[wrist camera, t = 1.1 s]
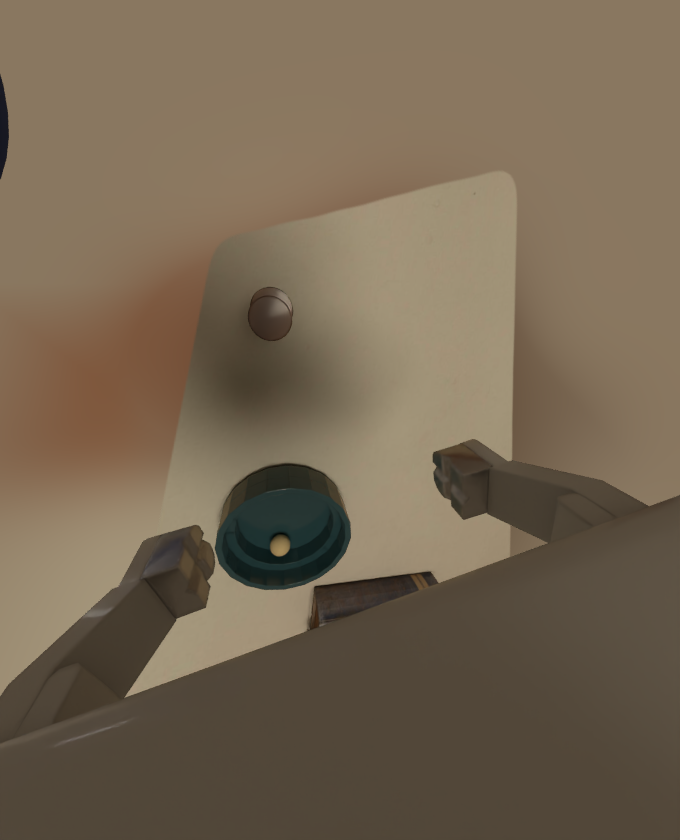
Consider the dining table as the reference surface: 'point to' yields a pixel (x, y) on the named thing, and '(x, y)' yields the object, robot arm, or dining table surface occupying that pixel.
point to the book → (362, 596)
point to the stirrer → (270, 314)
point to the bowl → (282, 528)
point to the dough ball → (280, 545)
